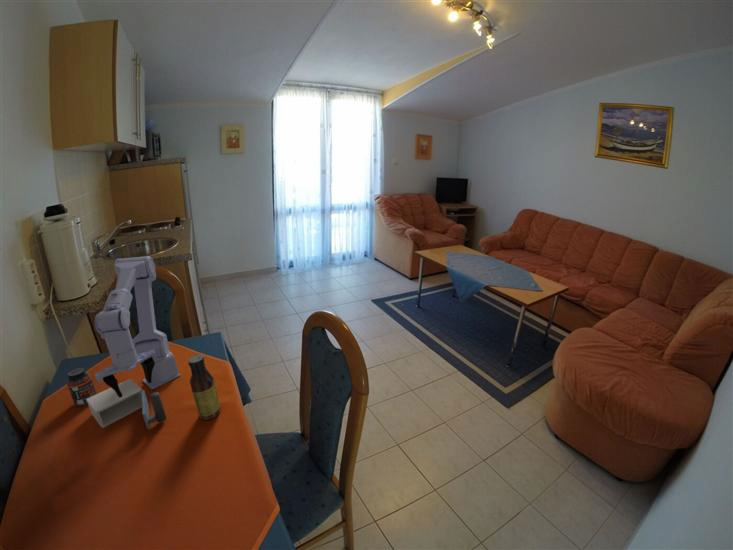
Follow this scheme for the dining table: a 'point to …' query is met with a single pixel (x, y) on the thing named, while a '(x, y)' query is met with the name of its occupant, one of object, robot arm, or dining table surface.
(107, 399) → the carton
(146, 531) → the dining table surface
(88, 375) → the supplement bottle
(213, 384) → the sauce bottle
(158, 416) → the dark grey door handle
